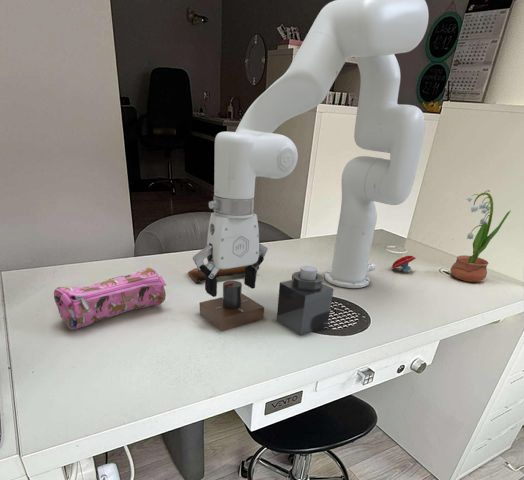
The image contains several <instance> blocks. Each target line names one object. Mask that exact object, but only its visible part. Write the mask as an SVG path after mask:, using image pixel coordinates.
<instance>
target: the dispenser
mask: <svg viewBox="0 0 524 480" xmlns="http://www.w3.org/2000/svg"><path fill="white" fill-rule="evenodd" d="M299 277H300V270H299V271H295V272H293V273H292V274H291V279H290V280H285V281H281V282H279V288H278V298H277V308H276V309H277V310H276V320H275V321H276V322H277V323H279V324H281V325H282V326H284V327H286V328H287V329H289V330H290V331H292V332H293V333H295V334H296V335H298V336H299V337H301V336H304V335H307V334H311V333H313V332H316V331H319V330H322V329H325V328H328V326H329V325H328V324H329V319H330V314H331V308H332V302H333V297H334V290H335V289H334V287H331V286H329V285H327V284H326V283H324V279H325V277H323V275H322V274H320V273H318V272H317V275H316V279H315V280H305V279H301V278H299Z"/></svg>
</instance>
